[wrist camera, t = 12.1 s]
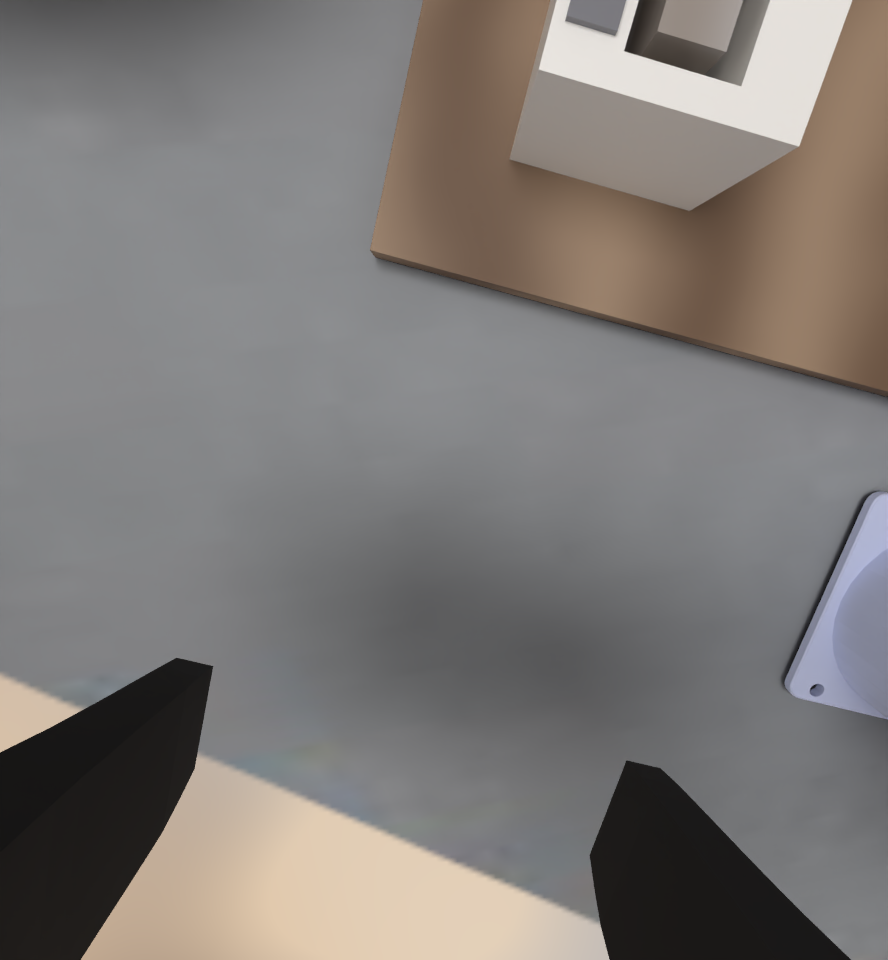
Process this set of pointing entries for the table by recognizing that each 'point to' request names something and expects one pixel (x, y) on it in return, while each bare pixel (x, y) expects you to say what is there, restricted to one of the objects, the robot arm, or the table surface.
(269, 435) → the table surface
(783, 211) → the base
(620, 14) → the cube with recessed slot
